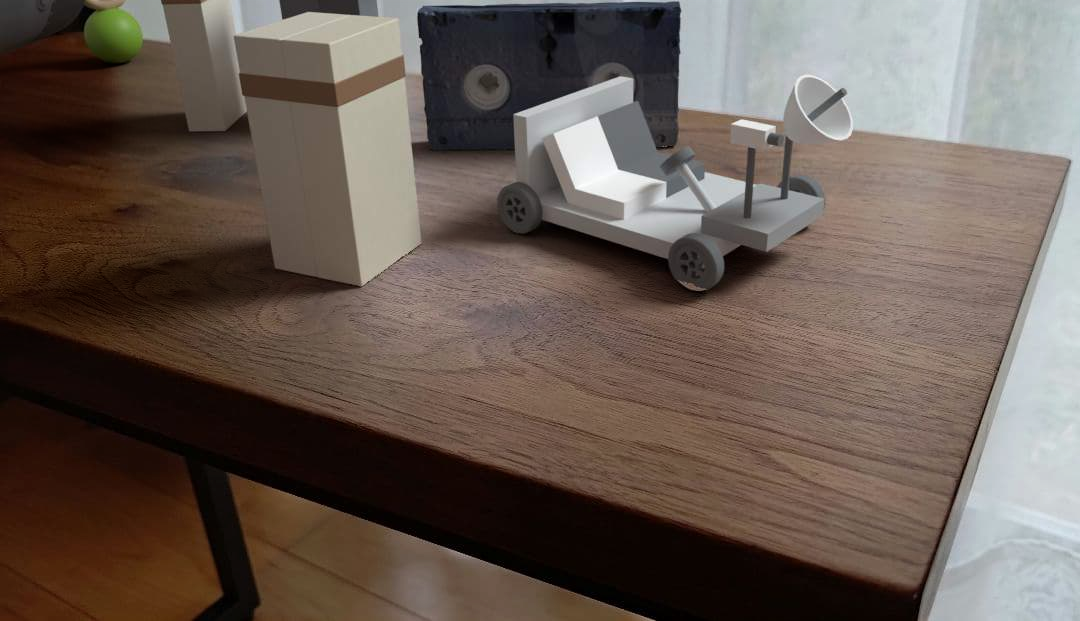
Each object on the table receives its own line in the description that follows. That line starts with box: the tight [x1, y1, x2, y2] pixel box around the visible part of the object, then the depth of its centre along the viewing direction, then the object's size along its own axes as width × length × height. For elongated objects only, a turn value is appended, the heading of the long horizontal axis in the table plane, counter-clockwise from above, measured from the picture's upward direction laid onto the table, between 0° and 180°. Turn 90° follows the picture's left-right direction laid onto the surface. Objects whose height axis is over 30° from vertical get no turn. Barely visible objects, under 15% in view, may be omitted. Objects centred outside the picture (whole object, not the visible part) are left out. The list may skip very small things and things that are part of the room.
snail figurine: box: [83, 0, 144, 64], centre depth 98 cm, size 5×6×12 cm
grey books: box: [278, 0, 379, 20], centre depth 78 cm, size 6×6×14 cm
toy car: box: [496, 74, 854, 290], centre depth 56 cm, size 18×10×12 cm
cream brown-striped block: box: [234, 12, 422, 287], centre depth 54 cm, size 6×6×13 cm
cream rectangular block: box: [160, 0, 247, 133], centre depth 79 cm, size 3×6×13 cm, turn 177°
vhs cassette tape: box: [416, 0, 682, 151], centre depth 71 cm, size 18×3×10 cm, turn 84°
